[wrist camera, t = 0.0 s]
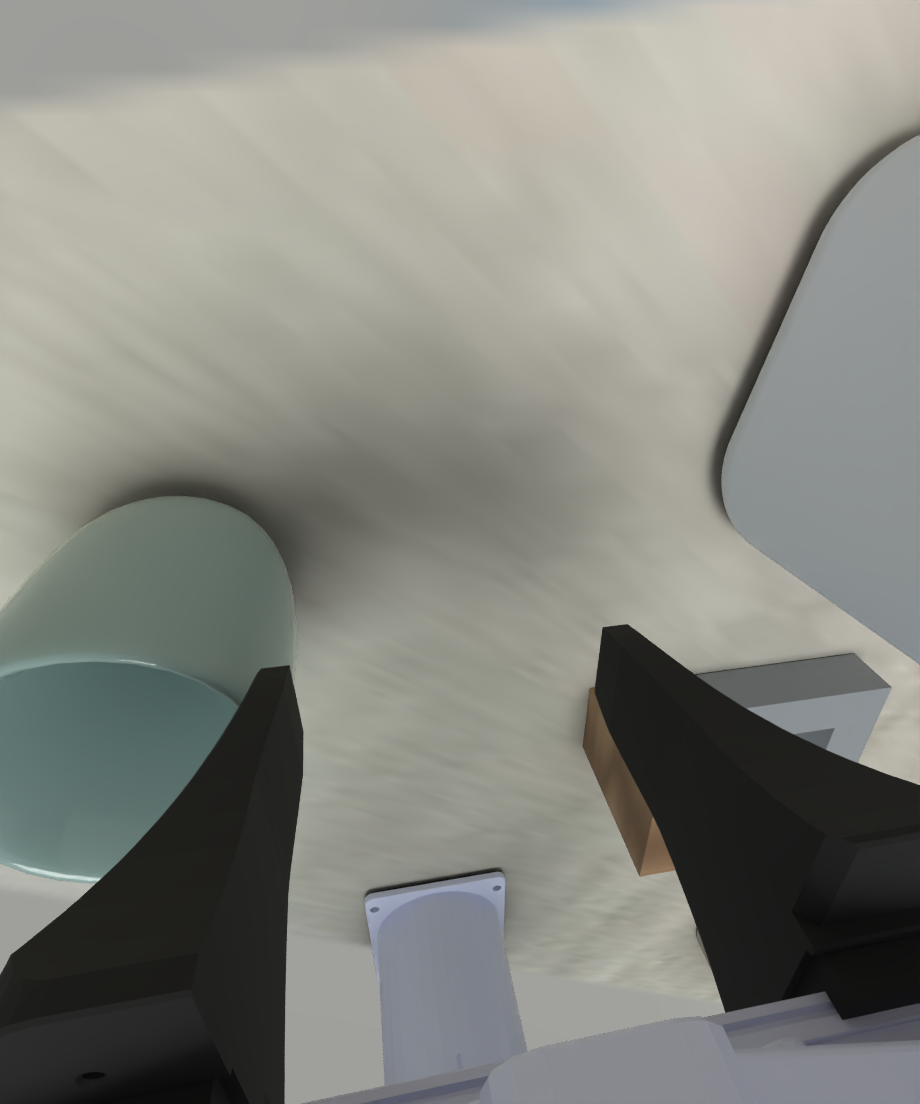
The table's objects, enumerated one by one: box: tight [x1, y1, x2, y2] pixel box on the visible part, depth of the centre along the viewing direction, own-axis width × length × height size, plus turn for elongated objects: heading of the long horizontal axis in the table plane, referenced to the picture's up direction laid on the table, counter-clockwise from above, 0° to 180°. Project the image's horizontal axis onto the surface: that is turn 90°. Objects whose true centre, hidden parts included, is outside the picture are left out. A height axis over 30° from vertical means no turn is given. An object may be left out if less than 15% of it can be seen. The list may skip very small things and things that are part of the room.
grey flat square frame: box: [696, 654, 892, 763], centre depth 32 cm, size 10×10×2 cm
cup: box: [0, 496, 297, 883], centre depth 18 cm, size 8×8×10 cm
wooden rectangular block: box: [583, 688, 675, 876], centre depth 28 cm, size 4×4×7 cm
